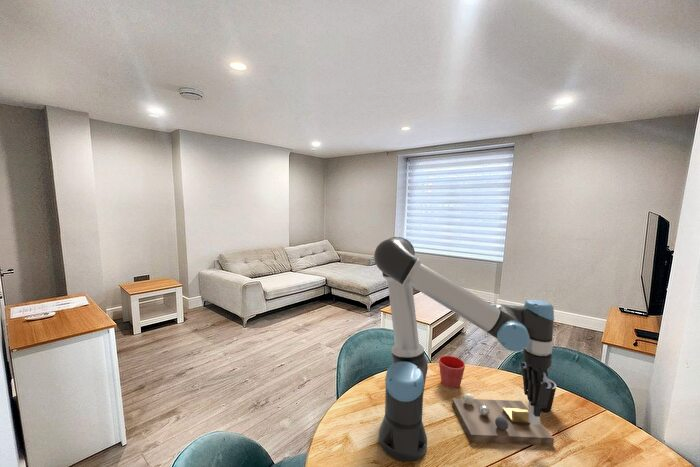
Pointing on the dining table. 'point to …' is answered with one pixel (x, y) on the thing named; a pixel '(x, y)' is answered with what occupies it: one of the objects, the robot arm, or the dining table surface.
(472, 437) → the board
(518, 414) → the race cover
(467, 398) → the cream ball
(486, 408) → the steel ball
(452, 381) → the flower pot
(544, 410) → the coffee mug
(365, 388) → the dining table surface
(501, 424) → the grey ball
